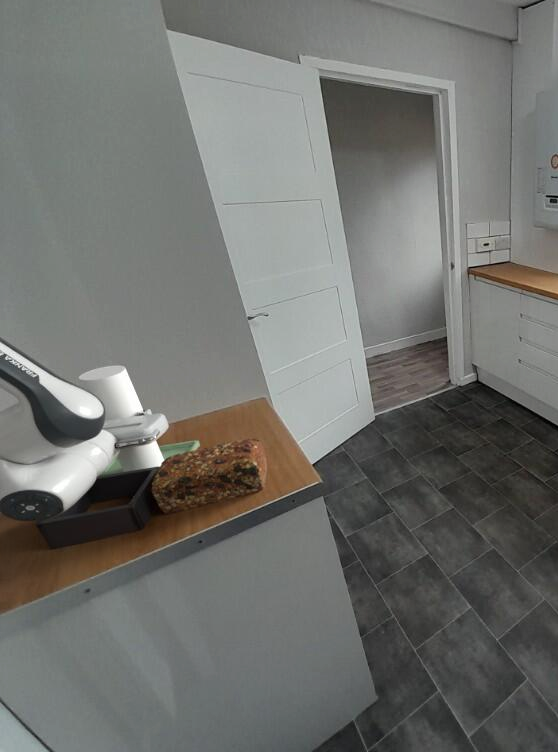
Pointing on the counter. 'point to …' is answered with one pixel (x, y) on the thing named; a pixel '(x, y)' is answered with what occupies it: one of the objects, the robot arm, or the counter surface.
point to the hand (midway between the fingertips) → (121, 415)
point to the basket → (104, 510)
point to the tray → (165, 451)
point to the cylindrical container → (121, 412)
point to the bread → (210, 475)
